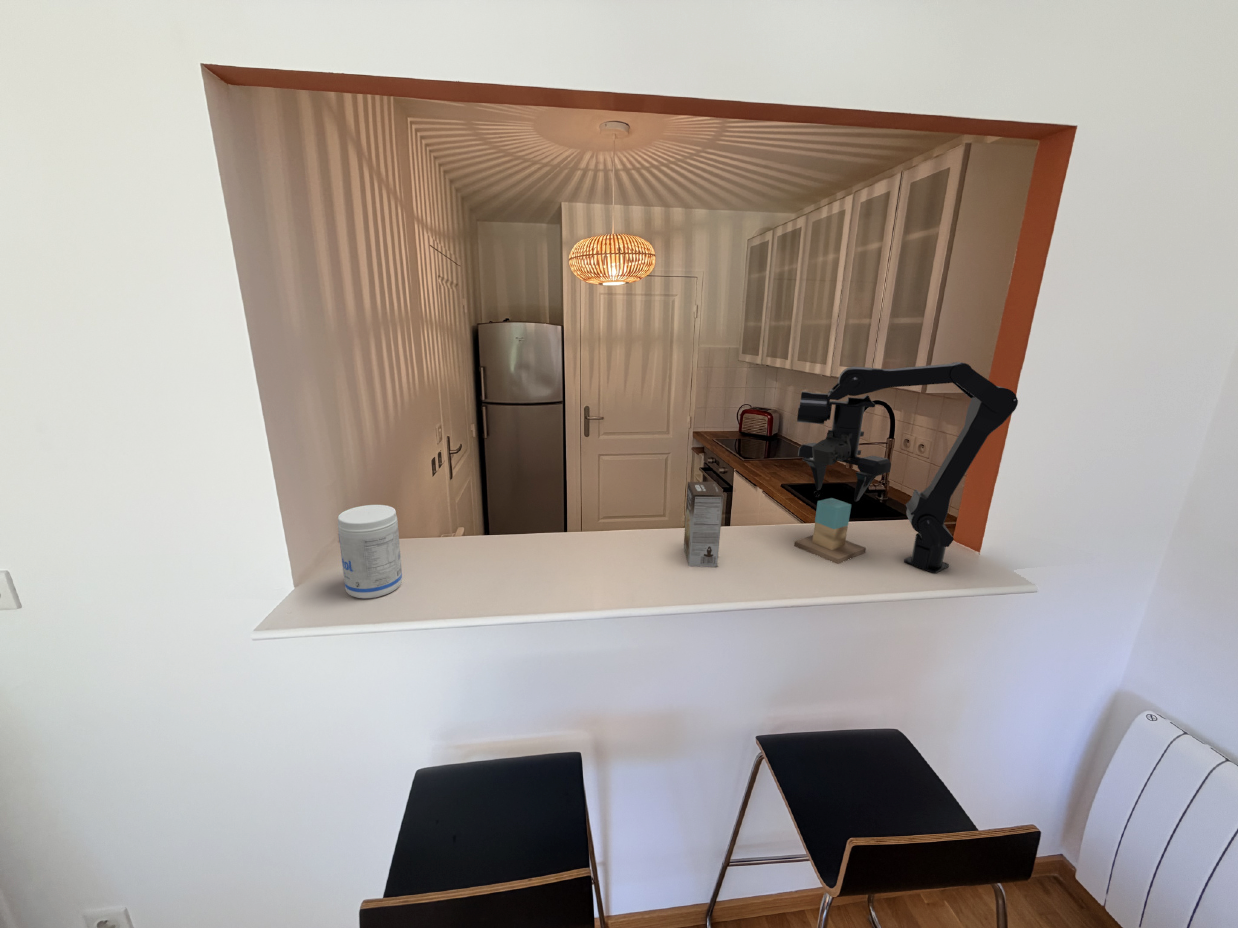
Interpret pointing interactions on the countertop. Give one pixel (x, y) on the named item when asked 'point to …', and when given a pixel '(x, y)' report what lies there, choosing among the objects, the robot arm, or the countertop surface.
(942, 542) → the robot arm
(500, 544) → the countertop surface
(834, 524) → the teal block
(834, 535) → the oak block
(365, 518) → the supplement tub
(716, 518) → the coffee box
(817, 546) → the walnut board
